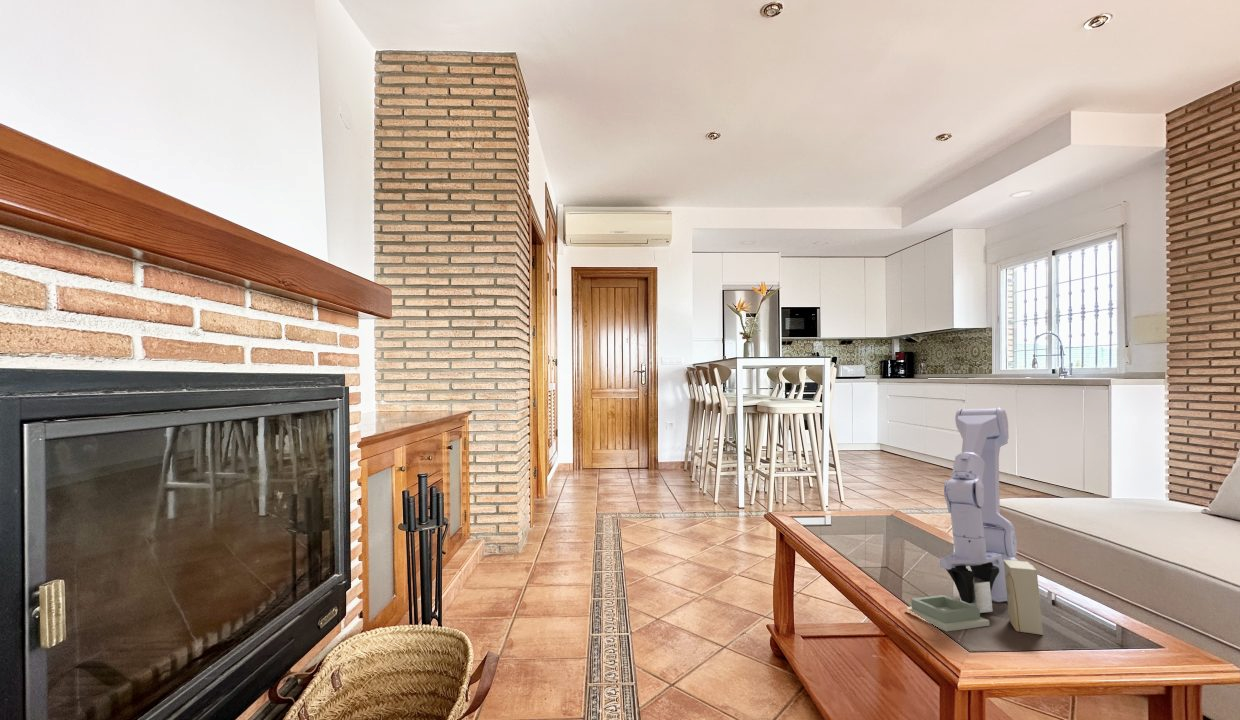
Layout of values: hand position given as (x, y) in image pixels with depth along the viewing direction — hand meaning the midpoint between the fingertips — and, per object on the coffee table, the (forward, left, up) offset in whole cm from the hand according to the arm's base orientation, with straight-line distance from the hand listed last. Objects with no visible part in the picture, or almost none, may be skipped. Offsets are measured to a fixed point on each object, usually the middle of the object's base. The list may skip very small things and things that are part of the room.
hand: (975, 600), depth 107 cm
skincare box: (-2, +9, -3) cm, 10 cm away
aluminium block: (0, 0, -2) cm, 2 cm away
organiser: (+9, +1, -2) cm, 9 cm away
